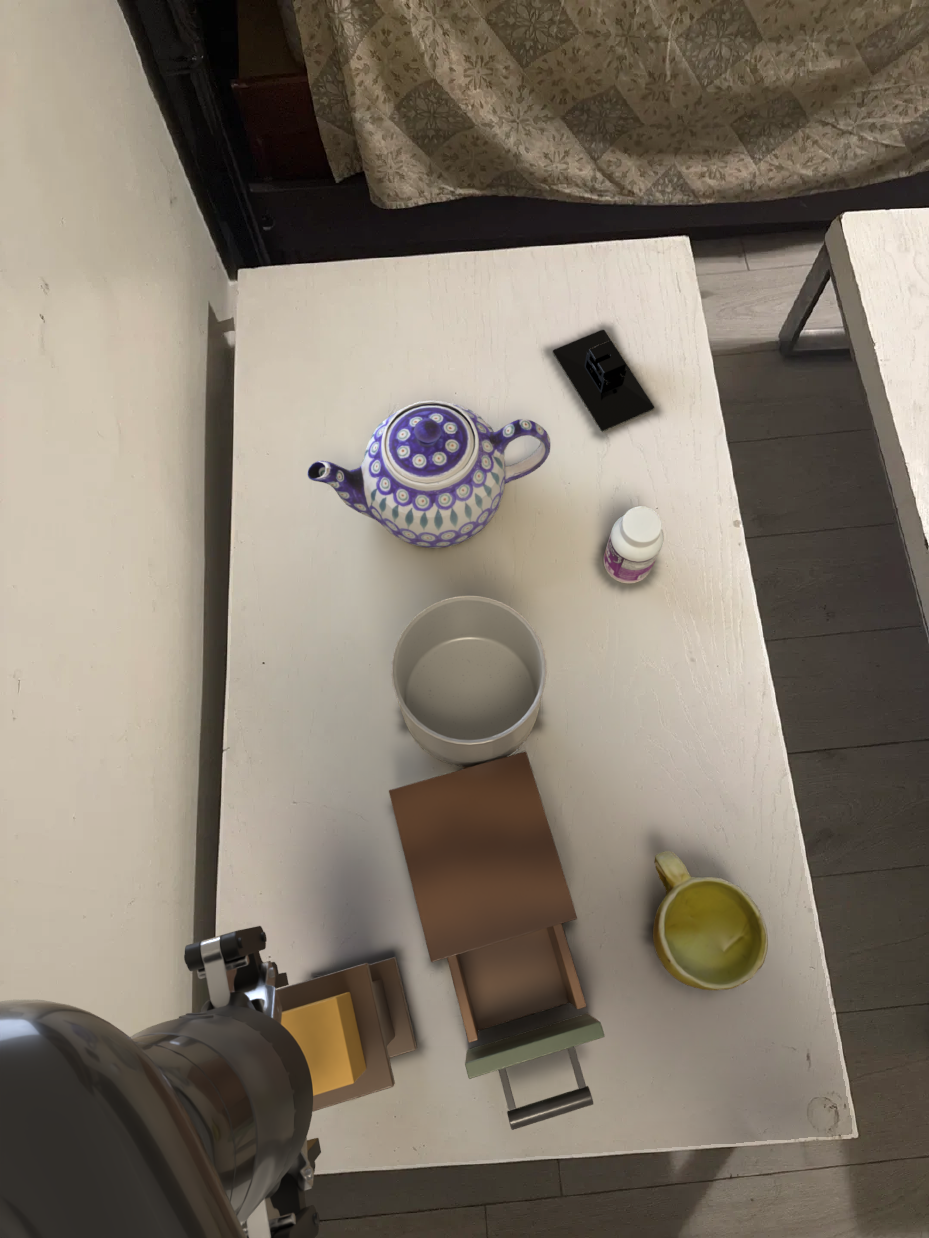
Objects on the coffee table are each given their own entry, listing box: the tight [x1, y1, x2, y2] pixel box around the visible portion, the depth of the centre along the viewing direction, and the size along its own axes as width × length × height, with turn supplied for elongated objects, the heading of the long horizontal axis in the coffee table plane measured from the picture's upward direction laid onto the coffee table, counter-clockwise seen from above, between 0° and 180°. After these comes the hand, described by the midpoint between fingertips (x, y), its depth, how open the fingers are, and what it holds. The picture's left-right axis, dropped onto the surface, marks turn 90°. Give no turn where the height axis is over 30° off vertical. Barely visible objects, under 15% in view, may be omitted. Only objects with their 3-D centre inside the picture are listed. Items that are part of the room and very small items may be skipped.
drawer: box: [446, 923, 606, 1131], centre depth 75 cm, size 18×11×9 cm, turn 16°
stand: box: [276, 956, 418, 1113], centre depth 70 cm, size 8×8×22 cm
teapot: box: [307, 399, 551, 549], centre depth 91 cm, size 25×15×15 cm, turn 99°
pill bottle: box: [603, 505, 665, 584], centre depth 90 cm, size 5×5×10 cm
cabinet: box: [388, 751, 578, 963], centre depth 79 cm, size 15×13×11 cm
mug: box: [652, 850, 769, 991], centre depth 78 cm, size 12×10×10 cm
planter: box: [390, 595, 548, 769], centre depth 81 cm, size 13×13×18 cm
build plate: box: [552, 329, 655, 433], centre depth 101 cm, size 12×7×5 cm, turn 25°
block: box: [281, 992, 366, 1096], centre depth 56 cm, size 5×5×6 cm
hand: (285, 1064), depth 48 cm, fingers open, 8 cm apart
